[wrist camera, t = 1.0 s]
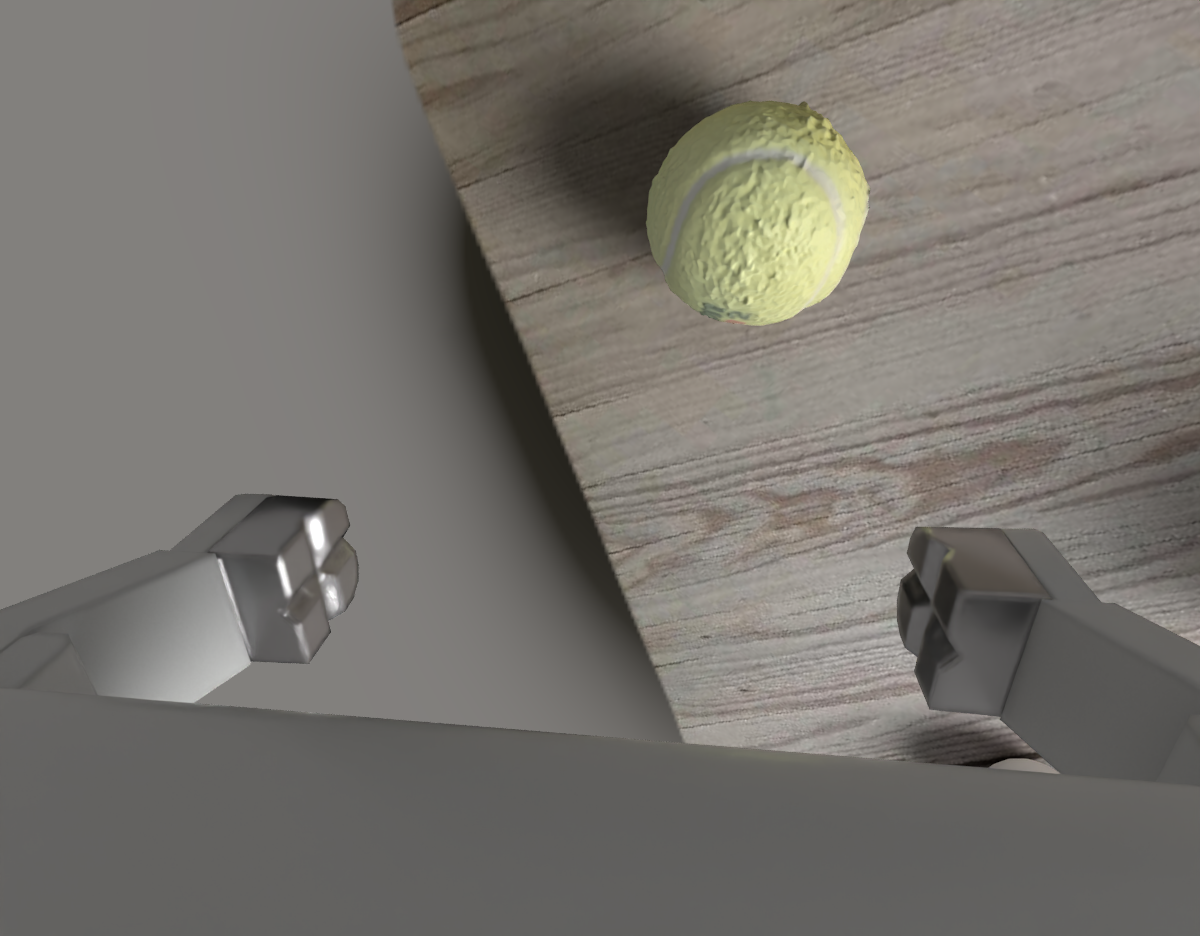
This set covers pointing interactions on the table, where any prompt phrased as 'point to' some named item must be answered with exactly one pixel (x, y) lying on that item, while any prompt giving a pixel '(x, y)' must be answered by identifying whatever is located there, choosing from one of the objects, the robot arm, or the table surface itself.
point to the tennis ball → (757, 212)
